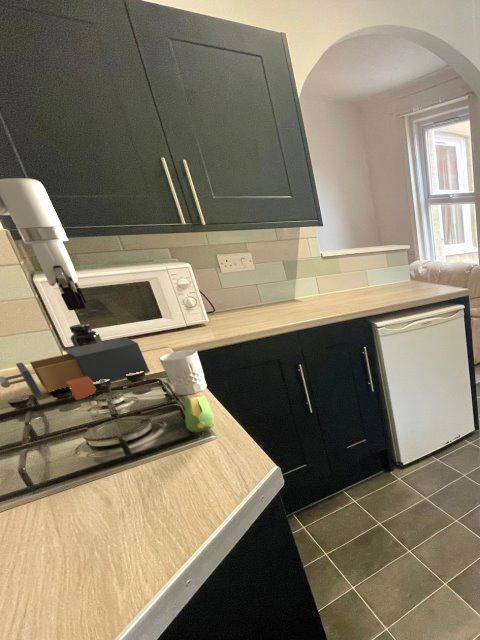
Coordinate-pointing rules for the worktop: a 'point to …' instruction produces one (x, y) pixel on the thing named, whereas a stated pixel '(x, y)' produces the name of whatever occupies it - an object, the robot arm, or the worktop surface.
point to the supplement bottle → (84, 335)
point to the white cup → (184, 371)
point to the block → (81, 387)
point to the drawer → (47, 373)
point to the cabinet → (109, 359)
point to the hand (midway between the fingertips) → (78, 306)
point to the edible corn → (198, 414)
